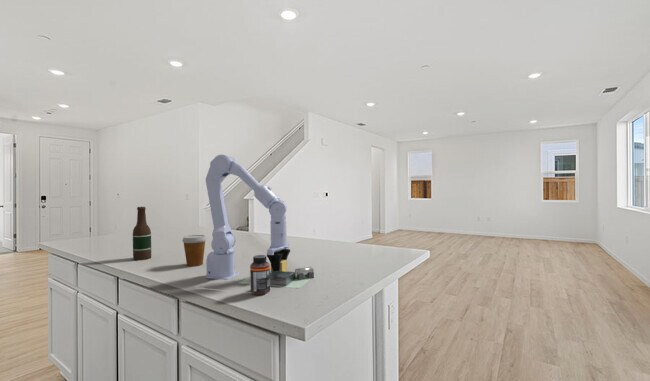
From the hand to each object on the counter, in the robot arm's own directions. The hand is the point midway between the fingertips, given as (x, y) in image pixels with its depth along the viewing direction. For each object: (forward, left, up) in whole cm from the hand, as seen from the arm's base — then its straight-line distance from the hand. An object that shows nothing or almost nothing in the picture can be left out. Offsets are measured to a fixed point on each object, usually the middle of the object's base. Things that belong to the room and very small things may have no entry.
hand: (279, 270), depth 119 cm
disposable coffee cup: (-42, +7, -2) cm, 43 cm away
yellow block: (0, 0, -1) cm, 1 cm away
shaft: (+10, -2, -2) cm, 11 cm away
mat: (+2, -5, -2) cm, 6 cm away
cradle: (+4, -8, -2) cm, 9 cm away
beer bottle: (-74, +11, -2) cm, 75 cm away
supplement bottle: (+2, -19, -2) cm, 19 cm away
